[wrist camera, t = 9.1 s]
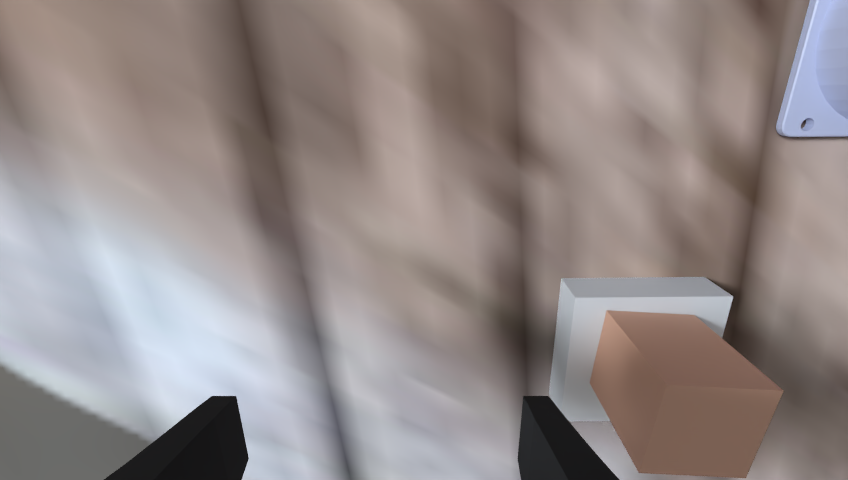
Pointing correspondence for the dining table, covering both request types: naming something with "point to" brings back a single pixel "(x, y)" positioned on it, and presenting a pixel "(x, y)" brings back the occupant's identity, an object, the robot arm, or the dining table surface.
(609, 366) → the column block
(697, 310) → the foundation slab
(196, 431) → the robot arm
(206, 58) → the dining table surface
